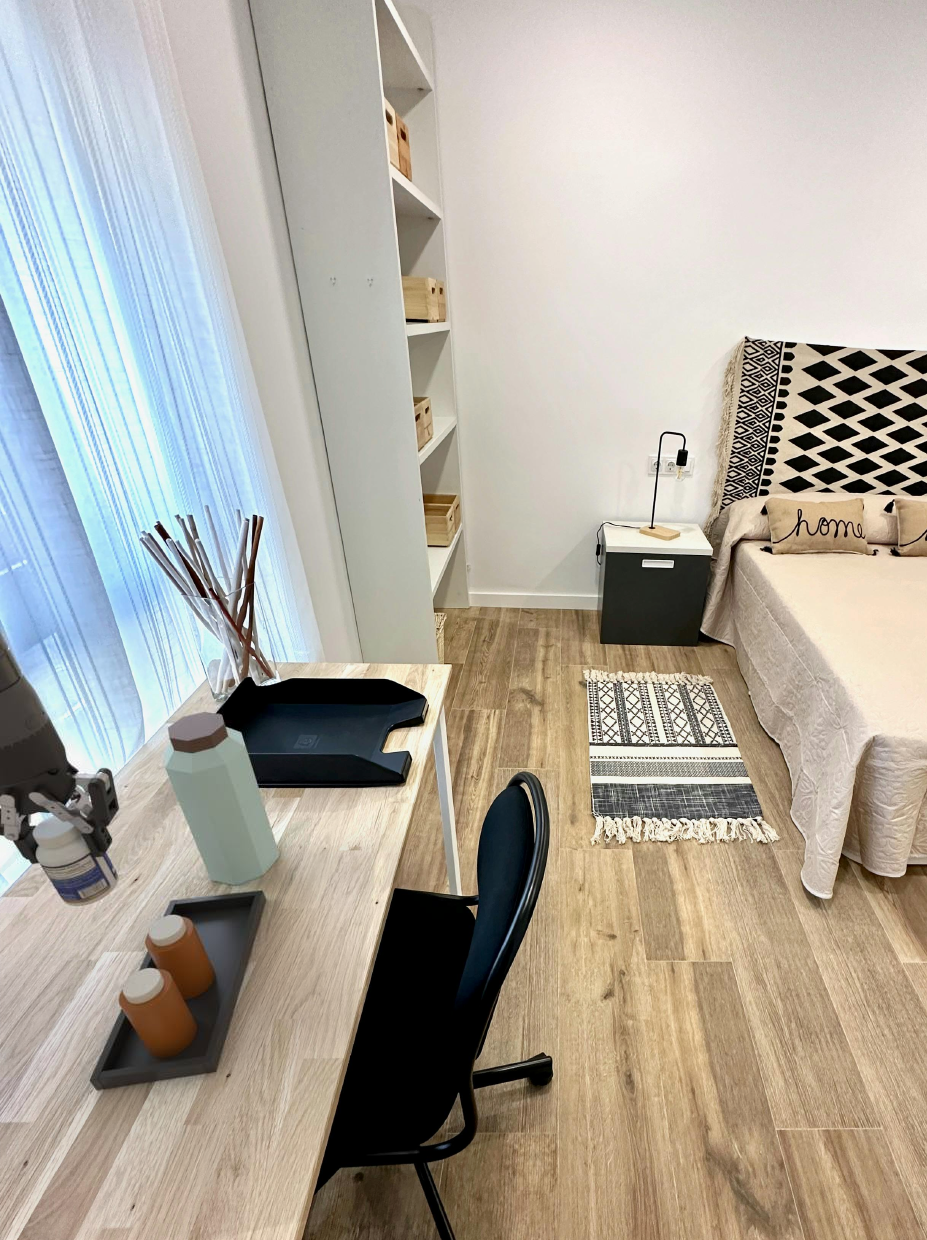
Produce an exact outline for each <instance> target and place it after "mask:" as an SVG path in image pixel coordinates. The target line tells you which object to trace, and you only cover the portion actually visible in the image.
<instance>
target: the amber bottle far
mask: <svg viewBox="0 0 927 1240" xmlns="http://www.w3.org/2000/svg"><path fill="white" fill-rule="evenodd" d="M118 1004H119V1007H120V1008H121V1009H123V1011H124V1013H125V1014H126V1016H127V1018H128V1019H129V1021H130V1022H131V1024H132V1026H133V1027H134V1029H135V1030H136V1032H137V1034H138V1035H139V1037H140V1038H141V1040H142V1042H143V1043H144V1045H145V1047H146V1048H147V1050H148V1051H149V1053H150V1054H151V1055H152V1056H153V1057H155V1058H159V1059H165V1058H169V1057H172V1056H175V1055H177V1054H179V1053H180V1052H182V1051H183V1050H184V1049H186V1048H187V1047H188V1046H189V1045H190V1044H191V1042H192V1041H193V1039H194V1037H195V1035H196V1032H197V1025H196V1022H195V1021H194V1019H193V1017H192V1015H191V1013H190V1011H189V1009H188V1007H187V1005H186V1003H185V1001H184V999H183V998H182V996H181V994H180V992H179V990H178V988H177V986H176V984H175V982H174V980H173V978H172V977H171V975H170V973H169V972H167V971H165V970H162V969H154V968H147V969H143V970H140V971H139V970H138V971H136V972H135V973H133V974H132V975H130V976H129V977H128V978H127V979H126V980H125V982H124V984H123V985H122V989H121V991H120V993H119V995H118Z"/></svg>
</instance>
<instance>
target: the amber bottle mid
mask: <svg viewBox="0 0 927 1240" xmlns="http://www.w3.org/2000/svg"><path fill="white" fill-rule="evenodd" d="M144 943H145V944H144V946H145V947H146V950H147V952H148V951H149V953H150V955H151V957H152V959H153V961H154V963H155V964H156V966H157V968H158V969H162V970H165V971H167V972H169V973H170V975H171V977H172V978H173V980H174V982H175V984H176V986H177V988H178V990H179V992H180V994H181V996H182V998H183V999H184V1000H187V999H192V998H195V997H197V996H199V995H201V994H202V993H204V992H205V991H206V990H207V989H208V988H209V987H210V986H211V984H212V983H213V981H214V978H215V971H214V968H213V966H212V964H211V962H210V960H209V957H208V955H207V953H206V951H205V949H204V947H203V944H202V942H201V940H200V938H199V936H198V933H197V931H196V929H195V927H194V925H193V923H192V921H191V920H190V919H188V918H185V917H180V916H178V915H169V916H165V917H163V916H162V917H161V918H159V919H157V920H156V921H154V923H152V924H151V926H150V927H149V929H148V933H147V935H146V936H145V941H144Z"/></svg>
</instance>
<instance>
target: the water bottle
mask: <svg viewBox="0 0 927 1240" xmlns="http://www.w3.org/2000/svg"><path fill="white" fill-rule="evenodd" d="M167 731H168V739H169V740H170V742H169V744H168V745H167V747H166V748H165V750H164V751H163V752H162V755H163V763H164V769H165V771H166V774H167V776H168V779H169V781H170V784H171V786H172V788H173V791H174V793H175V796H176V798H177V801H178V803H179V805H180V808H181V811H182V813H183V815H184V817H185V821H186V823H187V825H188V828H189V830H190V833H191V835H192V837H193V840H194V843H195V845H196V847H197V850H198V853H199V855H200V857H201V859H202V862H203V864H204V867H205V869H206V872H207V875H208V877H209V879H210V880H211V881H213V882H217V883H222V884H227V885H231V886H239V885H242V884H244V883H247V882H249V881H252V880H255V879H257V878H260V877H263V876H265V874H266V873H267V872H268V871H269V870H270V869H271V868H272V866H273V865H274V864H275V863H276V862H277V860H279V858H280V857H281V856H280V855H281V854H280V852H279V849H278V846H277V842H276V838H275V836H274V833H273V829H272V825H271V823H270V819H269V815H268V813H267V811H266V807H265V804H264V801H263V798H262V794H261V791H260V788H259V785H258V782H257V778H256V775H255V772H254V769H253V766H252V762H251V759H250V756H249V753H248V750H247V747H246V743H245V741H244V737H243V734H242V732H241V731H238V730H235V729H233V728H230V727H227V726H226V723H225V721H224V718H223V714H220V713H215V712H208V711H202V712H197V713H193V714H190V715H185V716H182V717H180V718H179V719H177V721H175V722H174V723H172V724H171V725H169V726H168V727H167Z"/></svg>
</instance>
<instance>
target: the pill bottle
mask: <svg viewBox="0 0 927 1240" xmlns="http://www.w3.org/2000/svg"><path fill="white" fill-rule="evenodd" d="M81 834H82V832H81V831H80V830H79V829H78V828H76V827H75V826H74V825H73V824H71V823H70V822H68V821H67V822H62V821H61V820H60V819H58V818H57V817H56V816H55V815H52V816H49V817H47V818H45V819H44V820H42V821H40V822H39V823H38V824H37V825H36V827H35V828H34V830H33V837H34V838H35V840H36V842H37V843H38V845H39V846H38V848H37V850H36V858H37V860H38V862H39V863H38V864H39V865H40V867H41V868H42V870H43V871H44V873H45V875H46V876H47V878H48V880H49V881H50V883H51V884H52V886H53V887H54V889H55V891H56V892H57V894H58V895H59V897H60V898H61V900H62V901H63V903H64V904H65V905H68V906H72V907H84V906H88V905H92V904H94V903H97V902H99V901H101V900H102V899H104V898H105V897H107V896H108V895H109V894H111V893H112V892H113V890H114V889H115V888H116V887H117V885H118V883H119V879H120V878H119V874H118V872H117V870H116V867H115V865H113V862H112V861H111V859H110V857H109V855H108V853H107V852H106V853H105V855H104V856H103V857H93V855H92V853H91V851H90V849H89V848H88V846H87V844H86V842H85V840H84V839H83V837H82V835H81Z"/></svg>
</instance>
